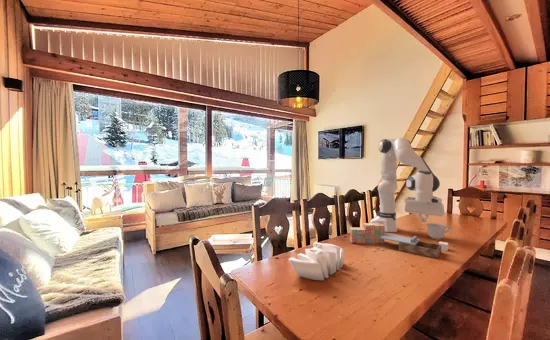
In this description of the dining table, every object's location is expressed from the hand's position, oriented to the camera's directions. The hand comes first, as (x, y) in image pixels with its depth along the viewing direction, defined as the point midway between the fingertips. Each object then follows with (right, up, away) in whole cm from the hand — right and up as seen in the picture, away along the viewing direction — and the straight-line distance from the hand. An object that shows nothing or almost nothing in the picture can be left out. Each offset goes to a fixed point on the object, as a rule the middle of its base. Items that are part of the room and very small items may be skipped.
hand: (423, 221), depth 148 cm
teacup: (+25, -18, +25) cm, 40 cm away
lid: (-10, -13, +9) cm, 19 cm away
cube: (+15, -19, +5) cm, 24 cm away
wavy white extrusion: (-65, -20, -20) cm, 71 cm away
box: (-1, -19, +2) cm, 19 cm away
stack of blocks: (-26, -19, +22) cm, 38 cm away
